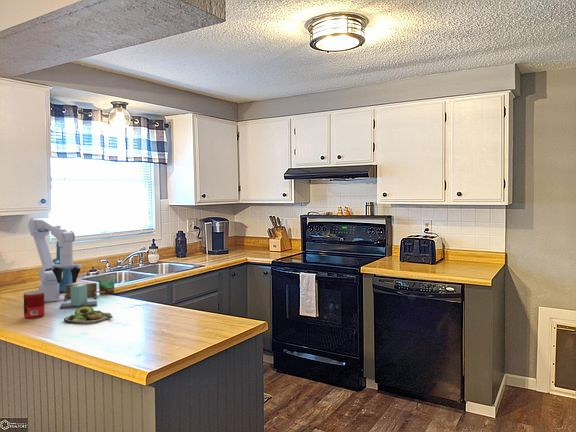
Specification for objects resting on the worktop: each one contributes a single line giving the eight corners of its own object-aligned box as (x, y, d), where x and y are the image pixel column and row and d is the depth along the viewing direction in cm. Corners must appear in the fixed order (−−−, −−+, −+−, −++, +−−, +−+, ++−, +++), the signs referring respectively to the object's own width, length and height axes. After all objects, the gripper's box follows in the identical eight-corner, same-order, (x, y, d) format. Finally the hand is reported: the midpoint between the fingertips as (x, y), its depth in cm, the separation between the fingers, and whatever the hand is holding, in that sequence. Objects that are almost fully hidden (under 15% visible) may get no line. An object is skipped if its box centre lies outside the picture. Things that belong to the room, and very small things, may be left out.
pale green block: (70, 305, 219) (70, 286, 219) (79, 301, 227) (79, 283, 227) (79, 305, 219) (78, 286, 219) (87, 302, 227) (87, 283, 227)
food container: (108, 295, 249) (107, 277, 249) (97, 294, 251) (97, 276, 250) (120, 291, 262) (120, 273, 261) (110, 290, 263) (110, 273, 263)
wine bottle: (78, 289, 268) (78, 238, 267) (63, 293, 255) (63, 239, 254) (57, 288, 270) (57, 237, 269) (41, 292, 257) (41, 239, 256)
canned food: (48, 315, 204) (48, 290, 203) (33, 319, 196) (32, 294, 196) (35, 314, 206) (35, 289, 206) (19, 318, 198) (19, 293, 198)
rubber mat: (60, 308, 216) (60, 306, 216) (61, 305, 224) (61, 303, 224) (96, 306, 222) (96, 304, 222) (97, 302, 230) (96, 300, 230)
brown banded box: (64, 301, 234) (64, 287, 234) (66, 297, 243) (65, 284, 243) (96, 298, 240) (96, 285, 240) (96, 295, 248) (96, 282, 248)
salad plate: (124, 316, 203) (124, 306, 202) (96, 326, 185) (96, 315, 185) (87, 313, 208) (87, 303, 208) (57, 323, 191) (57, 312, 191)
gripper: (84, 254, 231) (85, 281, 231) (57, 254, 232) (57, 281, 232) (76, 256, 224) (77, 283, 224) (48, 256, 225) (49, 283, 225)
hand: (66, 282), depth 228 cm, fingers open, 7 cm apart
